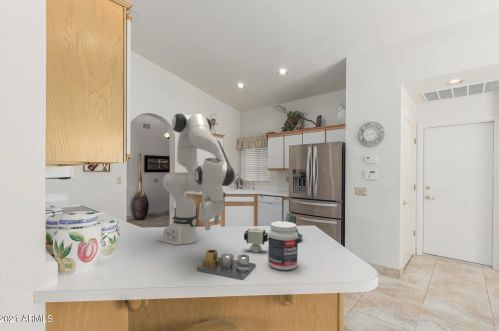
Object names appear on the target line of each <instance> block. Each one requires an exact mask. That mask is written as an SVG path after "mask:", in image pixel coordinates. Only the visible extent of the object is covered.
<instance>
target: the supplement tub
mask: <svg viewBox="0 0 499 331" xmlns="http://www.w3.org/2000/svg"><path fill="white" fill-rule="evenodd" d="M296 229H297V230H298V228H297V223H296V224H294V223H291V222H285V220H284V221H280V220H278V221H272V222H271V223H270V230H269V232H268V238H269V240H268V247H267V248H268V249H267V250H268V251H267V252H268V257H267V260H268V261H267V262H268V265H269V266H270V267H271V268H273V269H276V270H281V271H289V270H293V269H295V268H297V266H298V248H299V246H298V245H299V242H298V241H299V240H298V233H299V232H298V233H297V232H296Z"/></svg>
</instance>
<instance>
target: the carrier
mask: <svg viewBox="0 0 499 331" xmlns="http://www.w3.org/2000/svg"><path fill="white" fill-rule="evenodd" d="M217 258H220V264H219V265H218V264H217V265H215V266H206V264H203V263H202V264H200V265H199V266H197V267H196V272H202V273H205V274H206V273H207V274H212V275H217V276H222V277H225V278H230V279H231V278H232V279H236V280H241V281H244V279H246V278H247V277H248V276H249V275H250V274H251V273H252V272H253V270H254V269H255V268H256V267H257V264H256V263H254V262H250V256H249V255H248V254H239V255H237V260H236V259H234V255H233V254H231V253H223V254H221V255H220V257H219V256H217Z"/></svg>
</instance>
